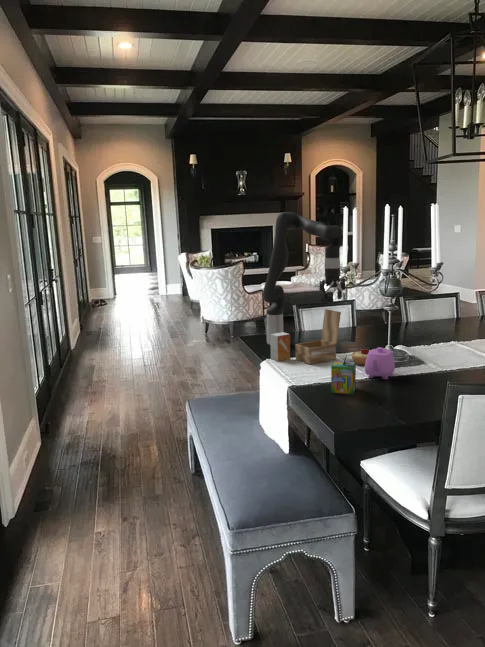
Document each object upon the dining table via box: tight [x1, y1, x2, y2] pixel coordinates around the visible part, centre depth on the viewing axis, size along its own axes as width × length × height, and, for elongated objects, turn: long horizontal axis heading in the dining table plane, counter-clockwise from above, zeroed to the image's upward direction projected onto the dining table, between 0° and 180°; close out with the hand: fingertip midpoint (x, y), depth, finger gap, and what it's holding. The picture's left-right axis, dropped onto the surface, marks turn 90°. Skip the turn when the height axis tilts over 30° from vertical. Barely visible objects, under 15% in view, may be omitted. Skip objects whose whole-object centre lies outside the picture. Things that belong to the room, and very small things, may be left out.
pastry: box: [351, 347, 370, 367], centre depth 253 cm, size 12×12×9 cm
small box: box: [269, 331, 291, 362], centre depth 267 cm, size 8×6×13 cm
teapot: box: [364, 346, 396, 380], centre depth 232 cm, size 20×12×13 cm, turn 153°
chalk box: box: [330, 354, 357, 395], centre depth 214 cm, size 9×9×15 cm
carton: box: [294, 339, 337, 365], centre depth 263 cm, size 12×16×8 cm
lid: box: [320, 308, 342, 345], centre depth 266 cm, size 12×16×1 cm
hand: (332, 299), depth 262 cm, fingers open, 8 cm apart
